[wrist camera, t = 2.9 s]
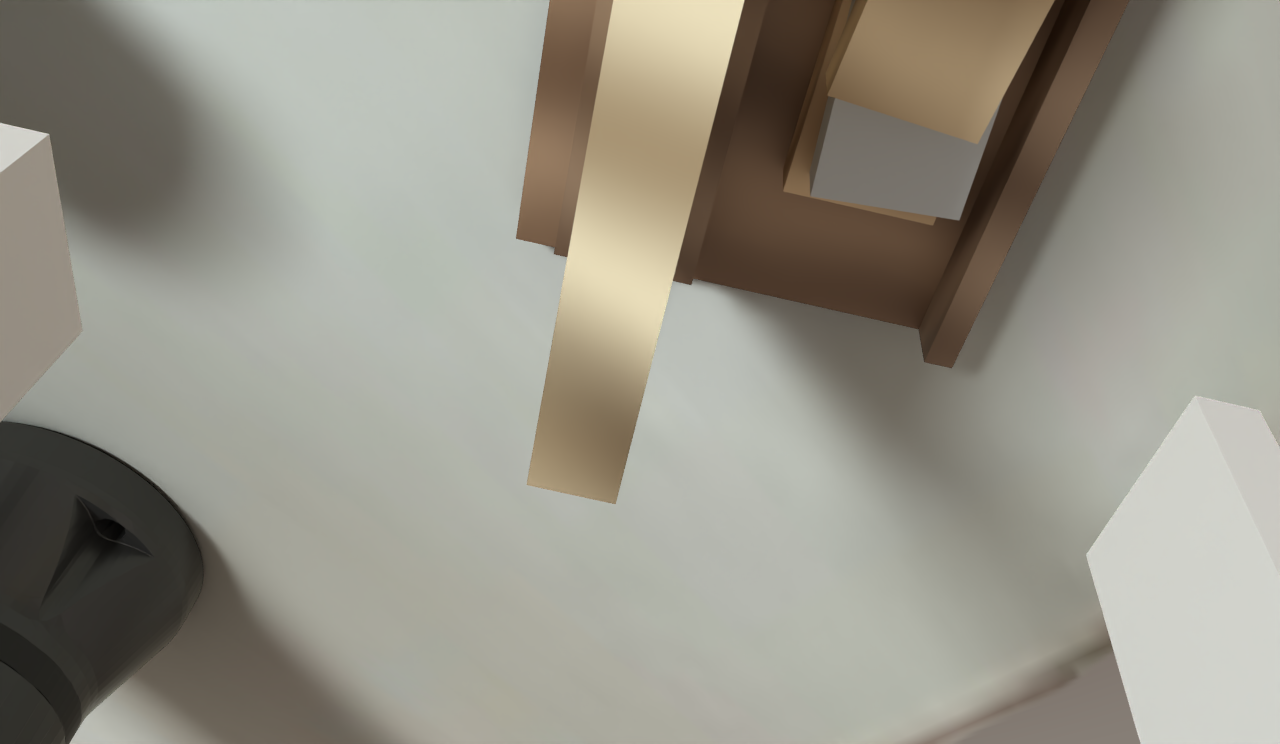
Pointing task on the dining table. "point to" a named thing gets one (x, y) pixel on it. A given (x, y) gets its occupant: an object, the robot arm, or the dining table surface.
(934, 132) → the offcut middle
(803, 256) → the rack
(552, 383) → the sheet
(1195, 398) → the robot arm
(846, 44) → the offcut top
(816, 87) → the offcut bottom
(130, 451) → the dining table surface
